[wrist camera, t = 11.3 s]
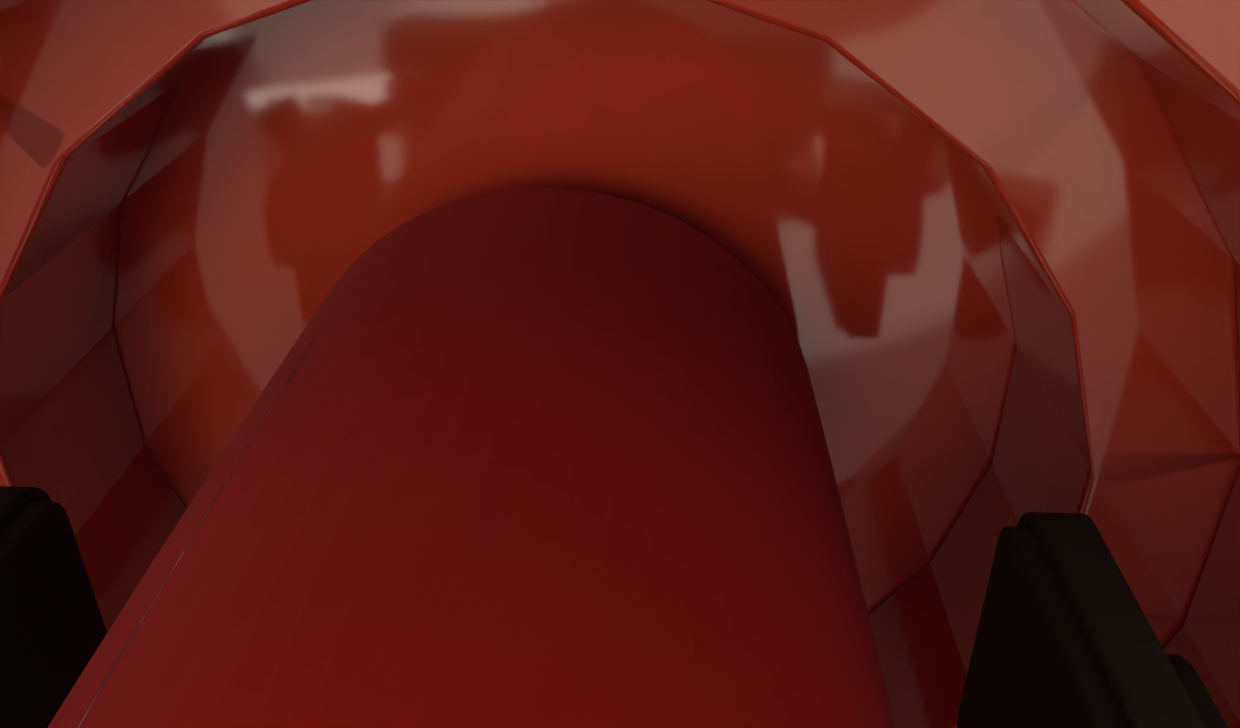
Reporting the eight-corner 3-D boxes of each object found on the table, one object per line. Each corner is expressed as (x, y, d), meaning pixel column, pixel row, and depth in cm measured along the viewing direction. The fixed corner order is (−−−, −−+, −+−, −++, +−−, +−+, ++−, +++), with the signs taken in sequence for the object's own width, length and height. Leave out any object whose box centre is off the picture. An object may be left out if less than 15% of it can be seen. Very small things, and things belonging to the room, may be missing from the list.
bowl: (-206, -297, 11) (-1062, -346, 6) (1330, -304, 11) (2049, -367, 5) (140, 735, 19) (-73, 1133, 14) (1027, 763, 19) (1179, 1190, 13)
